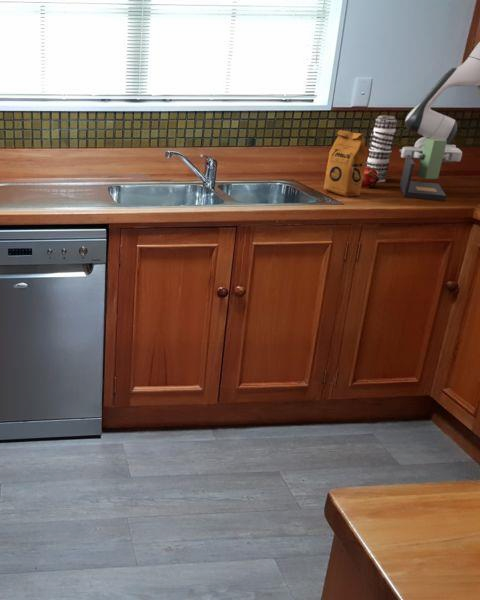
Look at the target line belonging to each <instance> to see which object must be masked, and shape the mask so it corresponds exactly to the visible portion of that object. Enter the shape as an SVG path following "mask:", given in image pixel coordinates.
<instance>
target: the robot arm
mask: <svg viewBox="0 0 480 600" xmlns="http://www.w3.org/2000/svg"><path fill="white" fill-rule="evenodd" d="M478 86H480V41H479V42H478V43H477V44H476V46H475V47H474V48H473V50H472V51H471V52H470V54H469V55H468V57H467V58H466V59H465V61H464V62H462V64H460V65H459V66H457V67H451V68H450V69H449V70H448V71H446V73H444V75H443V76H442V77H441V78H440V79H439V80H438V81H437V82H436V83H435V84H434V86H433V87H432V88H431V89H430V90H429V92H427V94H426V95H425V96H424V97H423V98H422V100H421V101H419V103H418V104H417V105H416V106H414V108H413V109H411V110H410V111H409V113H408V114H407V116H406V117H405V120H404V124H405V127H406V129H407V131H409V132H410V133H411V132H412V133H414V134H418V135H421V136H422V137H420V138H418V139H417V140H416V141H415V142H414V145H413V146H403V147H401V149H399V150H398V151H399V153H400V158H401V159H406V157H407V155H410V156H411V158H412V160H418V161H419V162H421V159H422V158H423V157H422V156H423V149H424V144H425V140H426V139H443V140H447V143H446V147H445V151H444V155H443V159H442V163H452V162H456V163H459V162H461V160H462V157H463V151H462V150H461V149H460V148H458V147H457V146H456V144H451V142H452V140H453V139H454V137H455V136H456V133H457V131H458V123H457V120H456V119H454V118H452V117H450V116H448V115H445V114H442V113H440V112H438V111H436V110H433V109H432V108H431V107H432V105H433V104H434V103H435V102H436V101H437V100H438V99H439V98H440V96H442V94H444V92H445V91H446V90H448V89H449V88H454V87H478Z"/></svg>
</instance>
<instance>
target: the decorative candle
mask: <svg viewBox="0 0 480 600" xmlns="http://www.w3.org/2000/svg"><path fill="white" fill-rule="evenodd" d="M374 120H375V123H374V126H373V130H372V131H373V132H372V133H370V138H369V141H371V142H369V143H368V145H369V146H368V151H369V153H368V157H367V161H365V166H366V167H367V166H370V167H371V168H372V169H374V170H376V172H377V175H379V178H380V179H379V181H377V183H385V182H386V179H387V175H388V171H387V170H389V166H390V163H389V162H390V155H391V153H392V151H393V149H392V147H394V146H395V144H394V143H395V139H394V138H396V137H397V133H398V132H397V131H396V127H397V122H398V120H397V119H396V116H394V115H385V114H384V115H383V114H382V115H379V116H377V118H375V119H374Z"/></svg>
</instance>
